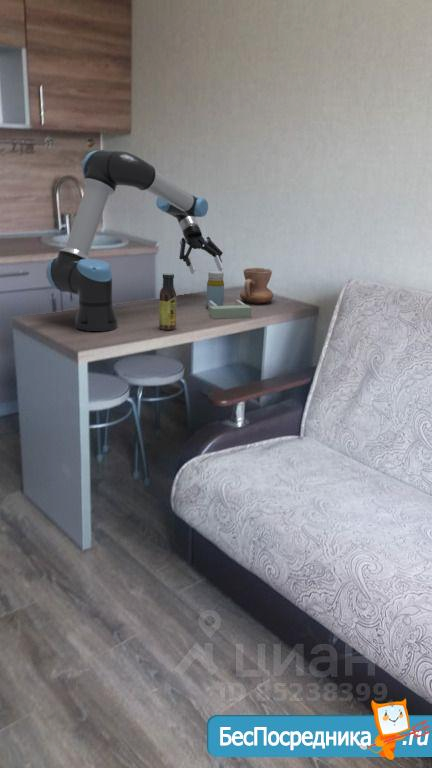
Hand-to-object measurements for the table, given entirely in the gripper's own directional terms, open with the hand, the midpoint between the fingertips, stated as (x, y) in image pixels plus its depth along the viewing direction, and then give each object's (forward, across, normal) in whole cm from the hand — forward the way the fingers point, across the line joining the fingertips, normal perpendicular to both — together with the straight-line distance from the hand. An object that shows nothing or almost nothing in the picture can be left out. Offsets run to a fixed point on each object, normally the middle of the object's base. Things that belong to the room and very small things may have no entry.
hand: (207, 270), depth 254 cm
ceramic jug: (+14, -22, -6) cm, 26 cm away
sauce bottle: (+30, +33, +10) cm, 46 cm away
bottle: (+16, +1, -4) cm, 16 cm away
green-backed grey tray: (+23, +2, +3) cm, 23 cm away
